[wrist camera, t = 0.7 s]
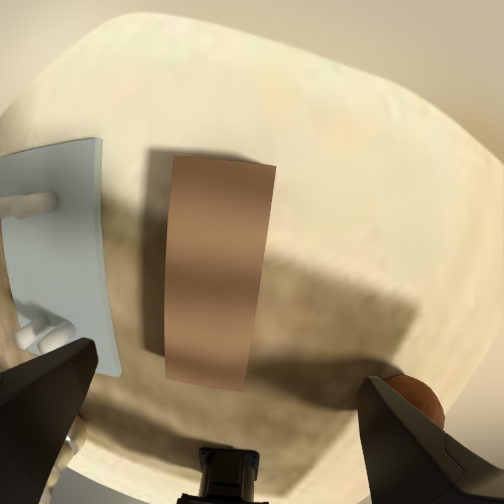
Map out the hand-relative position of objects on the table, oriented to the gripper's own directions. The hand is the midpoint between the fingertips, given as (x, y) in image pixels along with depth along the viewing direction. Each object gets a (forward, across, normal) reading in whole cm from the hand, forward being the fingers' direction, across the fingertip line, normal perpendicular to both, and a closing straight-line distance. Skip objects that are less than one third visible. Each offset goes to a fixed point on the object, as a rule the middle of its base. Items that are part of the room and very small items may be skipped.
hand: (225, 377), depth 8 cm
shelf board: (+12, +2, +2) cm, 13 cm away
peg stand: (+12, +17, +3) cm, 21 cm away
